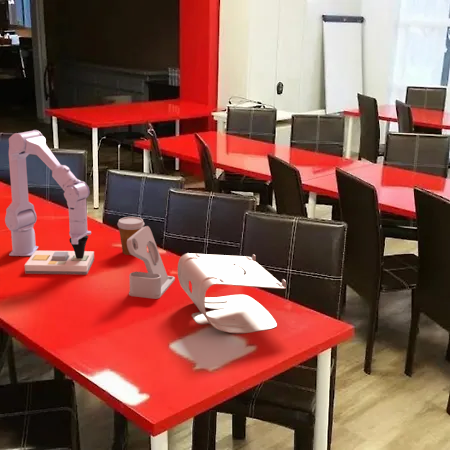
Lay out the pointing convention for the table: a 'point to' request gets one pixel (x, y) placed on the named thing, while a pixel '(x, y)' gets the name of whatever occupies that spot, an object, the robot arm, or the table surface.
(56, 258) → the key slate
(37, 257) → the key ochre
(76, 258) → the key sage
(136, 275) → the phone holder
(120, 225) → the disposable coffee cup
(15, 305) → the table surface
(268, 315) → the portable electronic device stand
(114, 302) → the table surface
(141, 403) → the table surface
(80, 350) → the table surface
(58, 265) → the keyguard panel
